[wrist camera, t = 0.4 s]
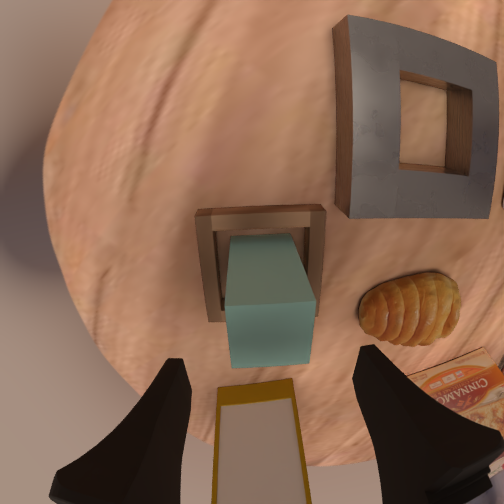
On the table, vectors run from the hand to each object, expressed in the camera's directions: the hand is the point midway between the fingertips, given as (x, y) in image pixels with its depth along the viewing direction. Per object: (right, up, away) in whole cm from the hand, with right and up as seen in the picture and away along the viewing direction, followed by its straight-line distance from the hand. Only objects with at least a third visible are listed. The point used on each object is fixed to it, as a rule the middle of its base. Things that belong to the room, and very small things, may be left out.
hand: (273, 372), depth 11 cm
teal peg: (0, +4, +10) cm, 10 cm away
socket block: (+10, +14, +5) cm, 18 cm away
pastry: (+13, 0, +12) cm, 18 cm away
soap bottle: (0, -8, +16) cm, 18 cm away
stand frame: (0, +4, +10) cm, 10 cm away
